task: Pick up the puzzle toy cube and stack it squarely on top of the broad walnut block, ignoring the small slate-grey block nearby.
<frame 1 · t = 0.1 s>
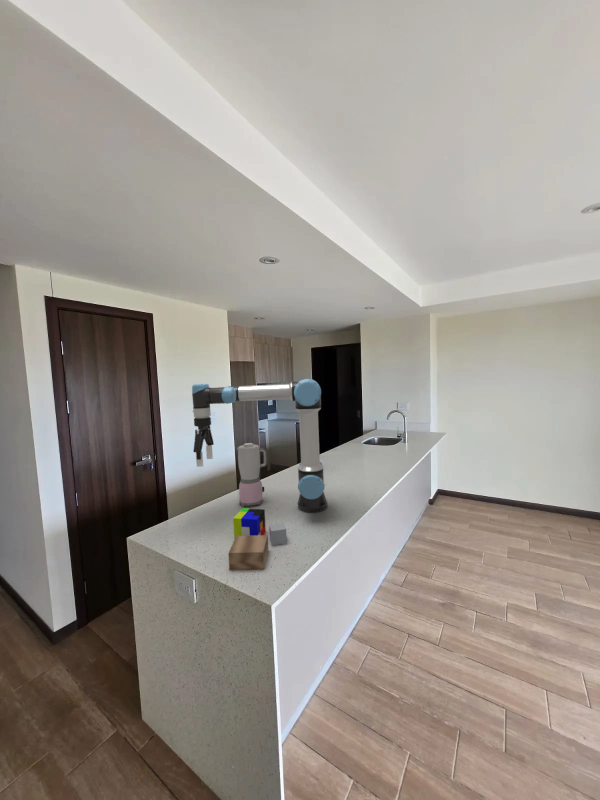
hand: (205, 462, 149), 28 cm above the countertop, fingers open, 13 cm apart
slate block: (278, 541, 129), on the countertop
puzzle toy: (250, 537, 133), on the countertop
walnut block: (249, 559, 116), on the countertop
blender: (254, 503, 170), on the countertop
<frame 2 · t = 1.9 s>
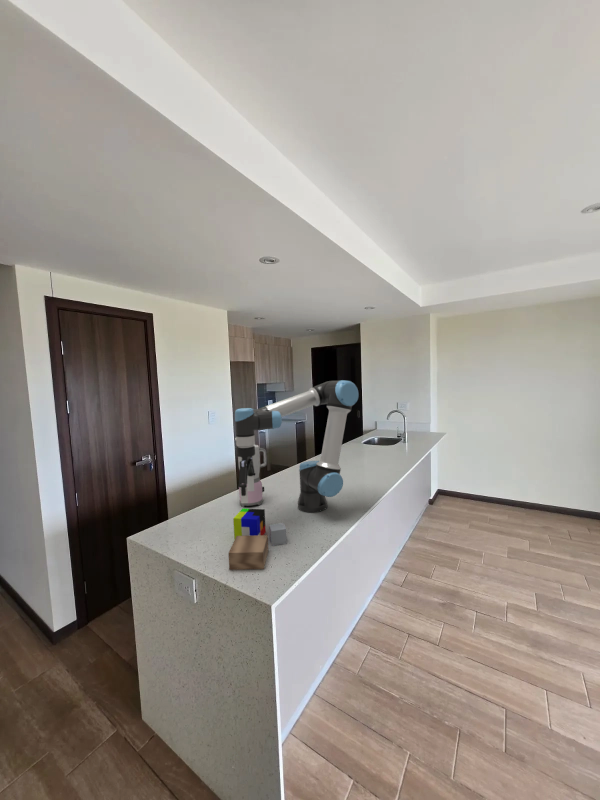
hand: (247, 496, 132), 17 cm above the countertop, fingers open, 13 cm apart
nothing on the countertop moved.
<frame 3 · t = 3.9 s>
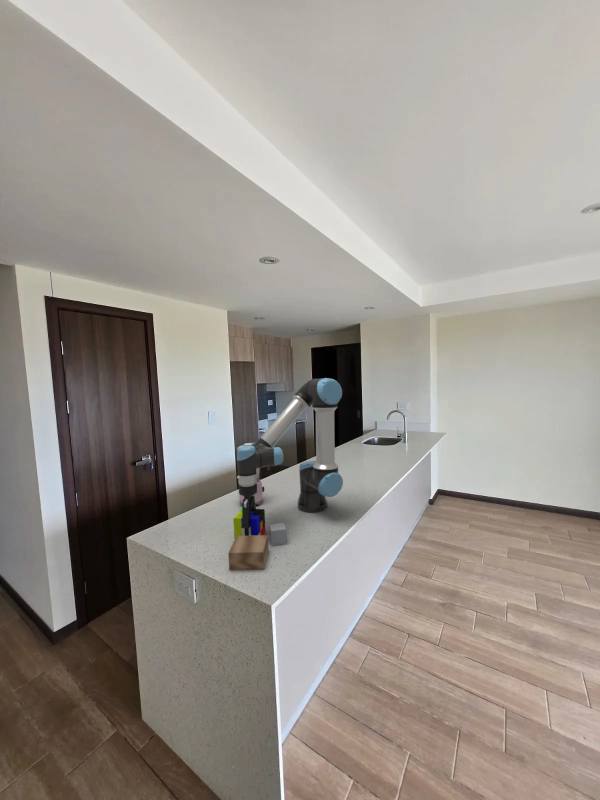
hand: (250, 535, 133), 0 cm above the countertop, fingers closed on puzzle toy, 11 cm apart
puzzle toy: (250, 537, 133), on the countertop, touching gripper
everything else where it was.
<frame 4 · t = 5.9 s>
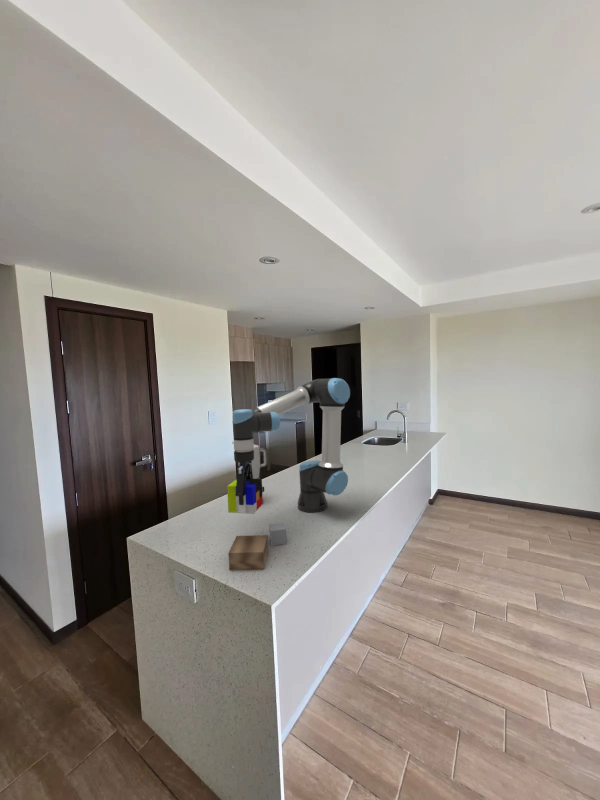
hand: (246, 506, 123), 17 cm above the countertop, fingers closed on puzzle toy, 11 cm apart
puzzle toy: (246, 508, 123), point 16 cm above the countertop, touching gripper
everything else where it was.
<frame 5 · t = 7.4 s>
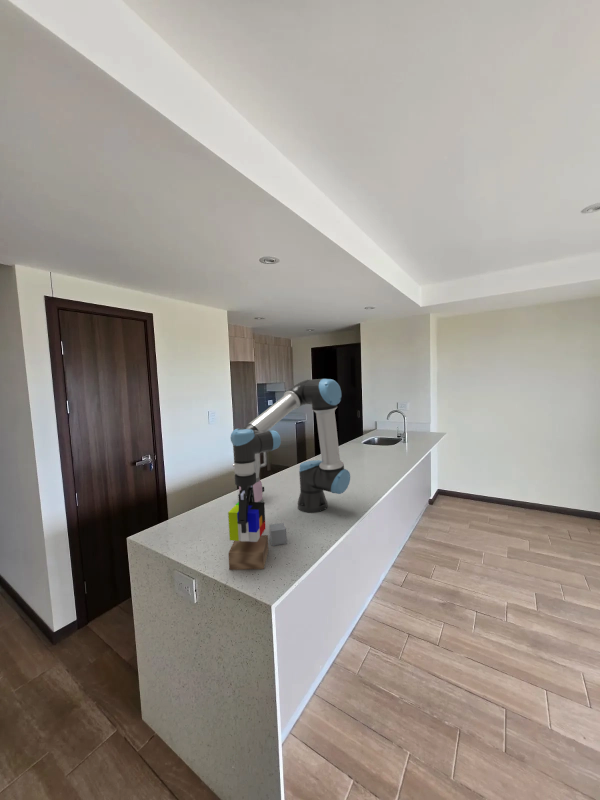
hand: (248, 532, 116), 10 cm above the countertop, fingers closed on puzzle toy, 11 cm apart
puzzle toy: (248, 534, 116), point 9 cm above the countertop, touching gripper
everything else where it was.
when the fingers open (8 cm above the countertop, at t = 8.4 s): puzzle toy drops 1 cm, resting on walnut block.
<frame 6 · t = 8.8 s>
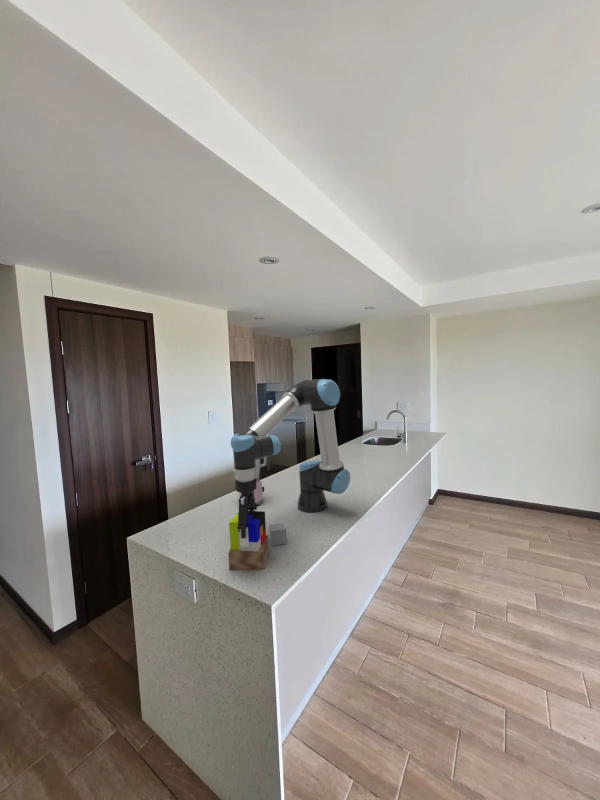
hand: (248, 536, 116), 9 cm above the countertop, fingers open, 13 cm apart
puzzle toy: (249, 544, 116), point 6 cm above the countertop, touching walnut block
everything else where it was.
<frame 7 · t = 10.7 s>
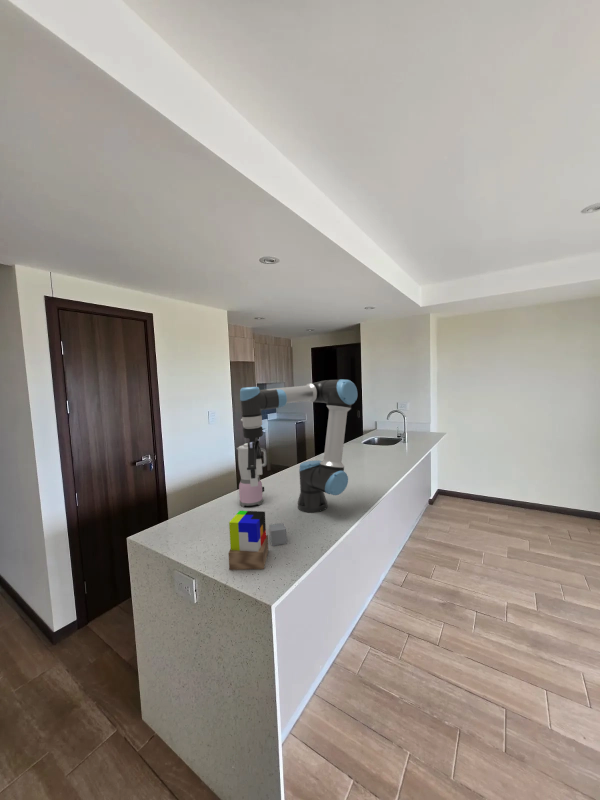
hand: (256, 480, 126), 26 cm above the countertop, fingers open, 13 cm apart
nothing on the countertop moved.
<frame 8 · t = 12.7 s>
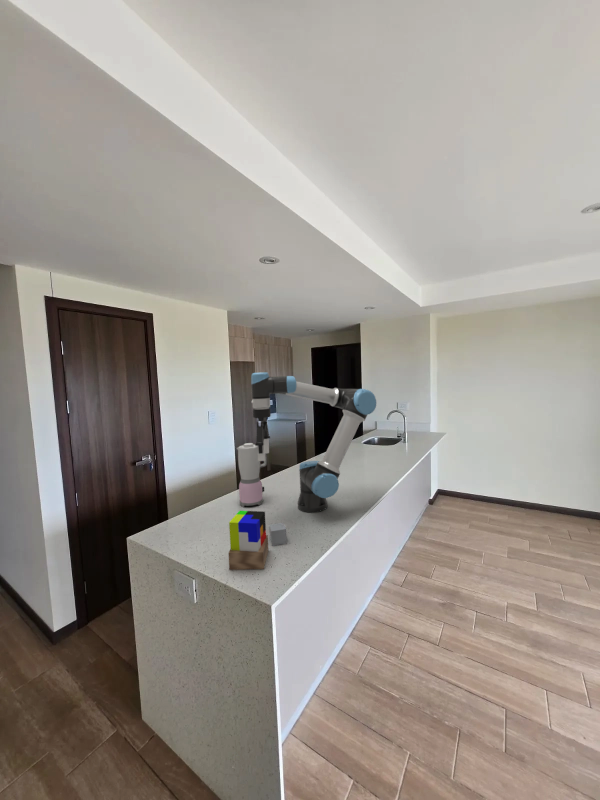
hand: (263, 456, 139), 32 cm above the countertop, fingers open, 13 cm apart
nothing on the countertop moved.
at the end: puzzle toy 0.0 cm from the walnut block (horizontally); puzzle toy touching walnut block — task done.
